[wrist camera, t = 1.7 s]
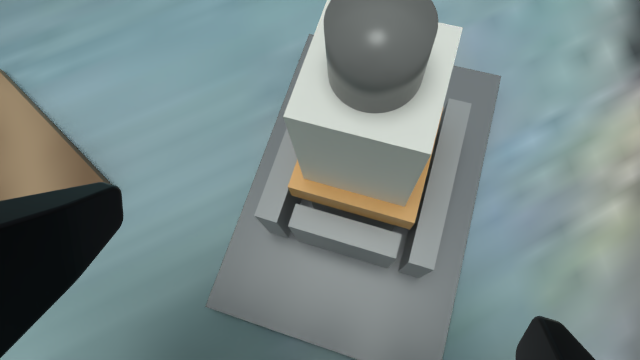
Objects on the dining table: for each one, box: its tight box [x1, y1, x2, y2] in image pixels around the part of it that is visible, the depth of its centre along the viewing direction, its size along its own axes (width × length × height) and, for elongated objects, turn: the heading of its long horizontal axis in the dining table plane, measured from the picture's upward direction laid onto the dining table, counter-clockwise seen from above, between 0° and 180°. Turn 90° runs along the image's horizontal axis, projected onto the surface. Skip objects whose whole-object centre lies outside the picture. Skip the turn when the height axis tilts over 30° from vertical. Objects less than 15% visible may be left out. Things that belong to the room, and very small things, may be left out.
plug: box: [283, 0, 463, 231], centre depth 15 cm, size 5×5×12 cm
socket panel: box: [205, 34, 501, 360], centre depth 19 cm, size 16×11×4 cm
